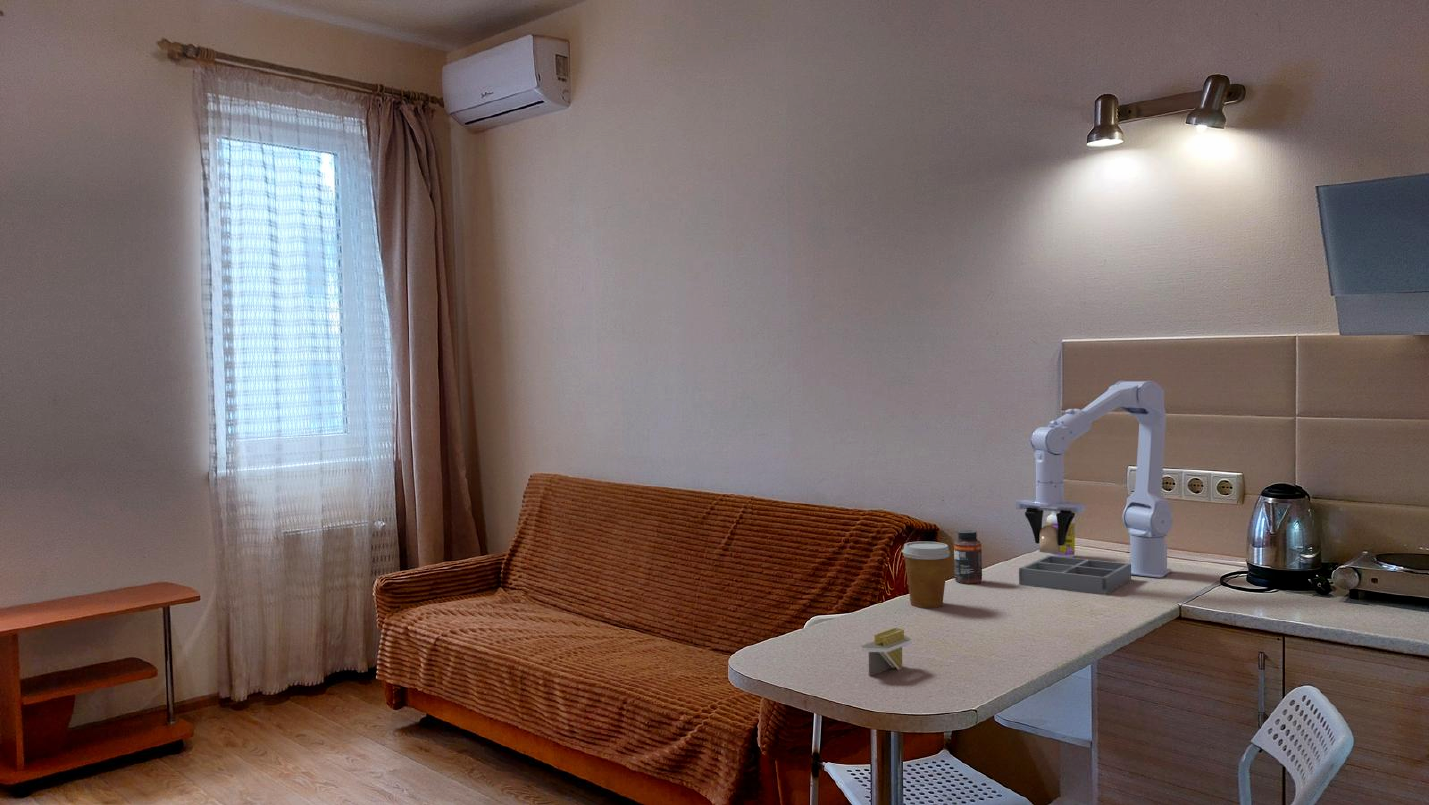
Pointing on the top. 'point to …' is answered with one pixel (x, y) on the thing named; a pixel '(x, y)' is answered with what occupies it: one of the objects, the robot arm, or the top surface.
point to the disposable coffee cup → (926, 572)
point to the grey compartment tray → (1075, 574)
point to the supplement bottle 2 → (1069, 545)
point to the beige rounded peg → (1049, 539)
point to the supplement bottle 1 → (968, 557)
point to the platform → (886, 650)
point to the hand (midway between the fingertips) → (1049, 543)
